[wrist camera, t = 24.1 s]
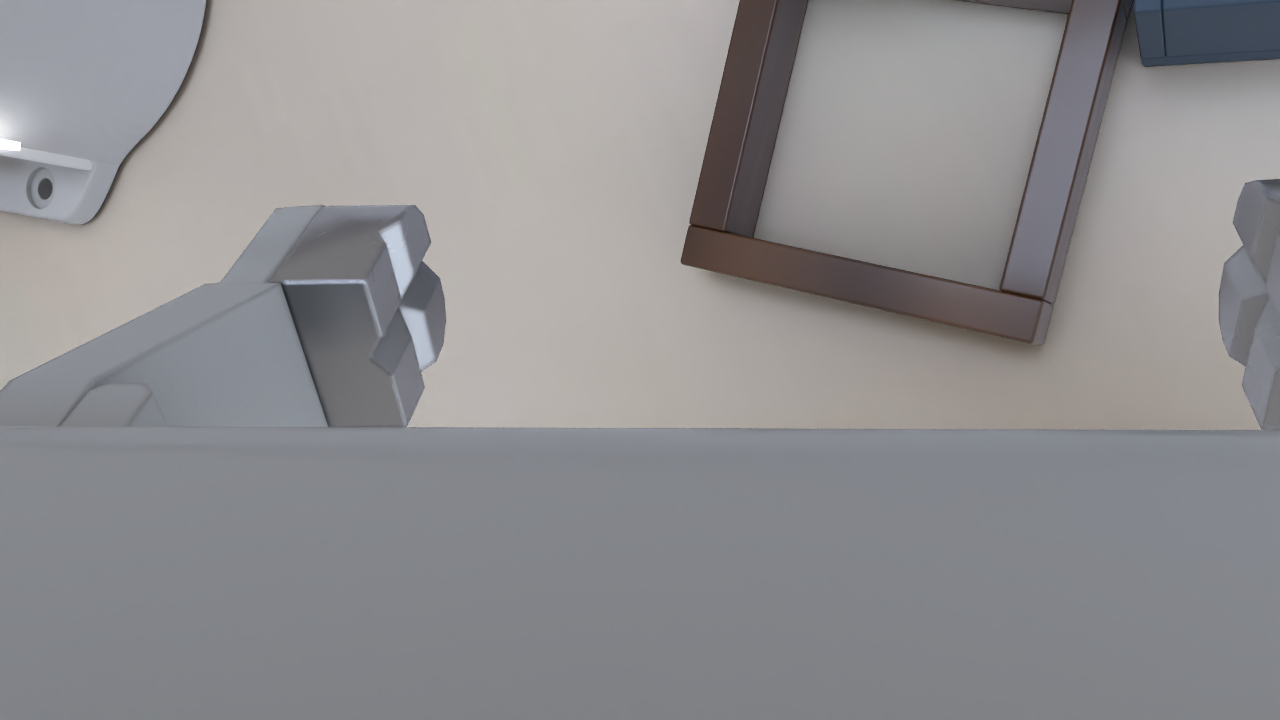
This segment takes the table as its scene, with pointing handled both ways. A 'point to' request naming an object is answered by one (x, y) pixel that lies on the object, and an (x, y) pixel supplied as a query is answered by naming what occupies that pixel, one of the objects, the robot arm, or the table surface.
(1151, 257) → the table surface
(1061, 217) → the rack
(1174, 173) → the table surface
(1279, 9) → the open box
